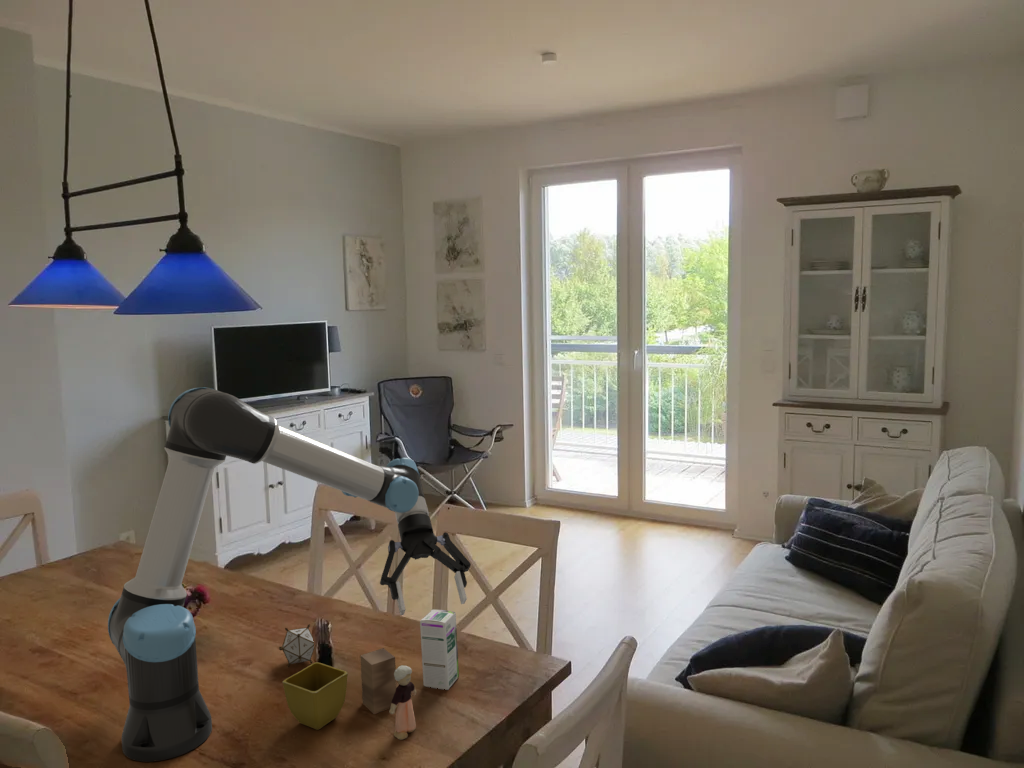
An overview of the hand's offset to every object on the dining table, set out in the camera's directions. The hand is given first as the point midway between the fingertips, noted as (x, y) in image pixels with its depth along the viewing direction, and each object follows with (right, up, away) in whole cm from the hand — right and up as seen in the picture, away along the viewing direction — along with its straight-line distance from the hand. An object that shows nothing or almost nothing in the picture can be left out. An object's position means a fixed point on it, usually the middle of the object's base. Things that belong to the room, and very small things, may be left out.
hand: (433, 607), depth 165 cm
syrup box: (+2, -14, -5) cm, 15 cm away
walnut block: (-9, -15, -14) cm, 22 cm away
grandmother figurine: (-3, -16, -23) cm, 28 cm away
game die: (-30, -14, +5) cm, 33 cm away
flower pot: (-20, -16, -19) cm, 32 cm away
